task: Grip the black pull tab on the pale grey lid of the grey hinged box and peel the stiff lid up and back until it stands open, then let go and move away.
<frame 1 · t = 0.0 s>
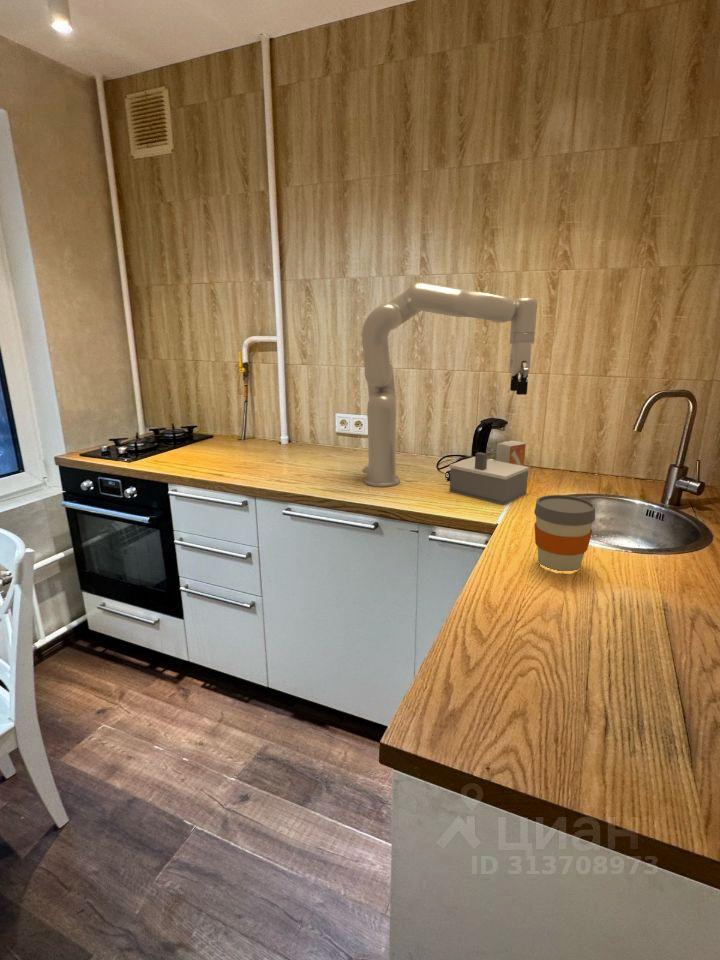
hand: (518, 392, 168), 31 cm above the worktop, tool pointing down, fingers open, 9 cm apart
reusable coffee cup: (558, 566, 117), on the worktop
lid: (489, 459, 164), point 11 cm above the worktop, hinge at 0.0°
grey hinged box: (487, 492, 168), on the worktop
small box: (508, 479, 183), on the worktop
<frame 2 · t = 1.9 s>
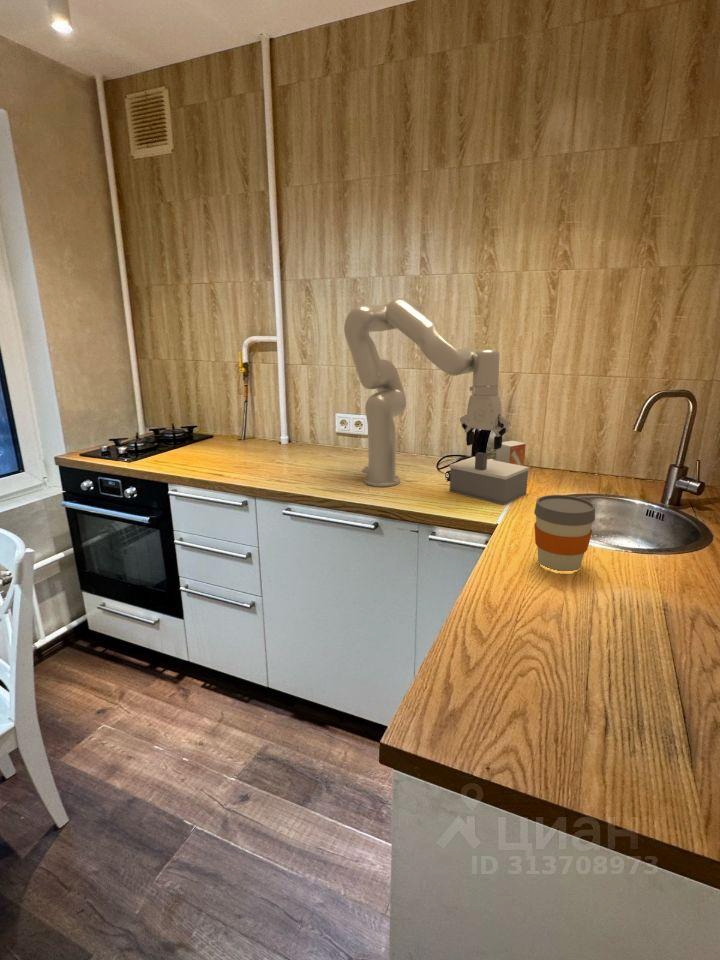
hand: (483, 446, 159), 16 cm above the worktop, tool pointing down, fingers open, 9 cm apart
nothing on the worktop moved.
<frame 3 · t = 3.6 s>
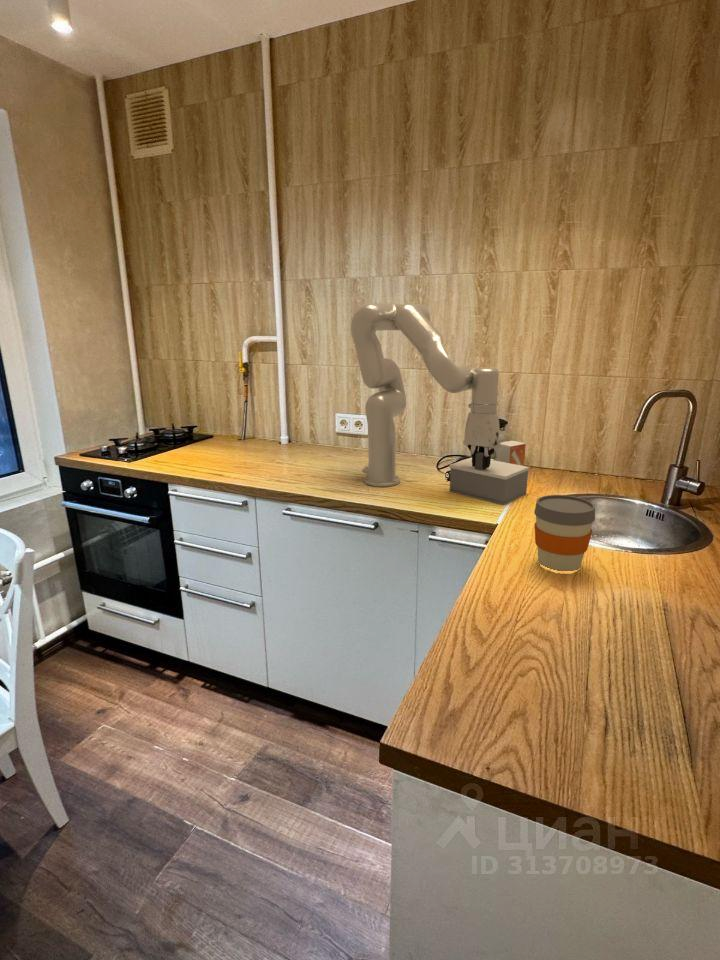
hand: (480, 466, 161), 10 cm above the worktop, tool pointing down, fingers closed on lid, 3 cm apart
lid: (489, 459, 164), point 11 cm above the worktop, hinge at 0.0°, touching gripper
everything else where it was.
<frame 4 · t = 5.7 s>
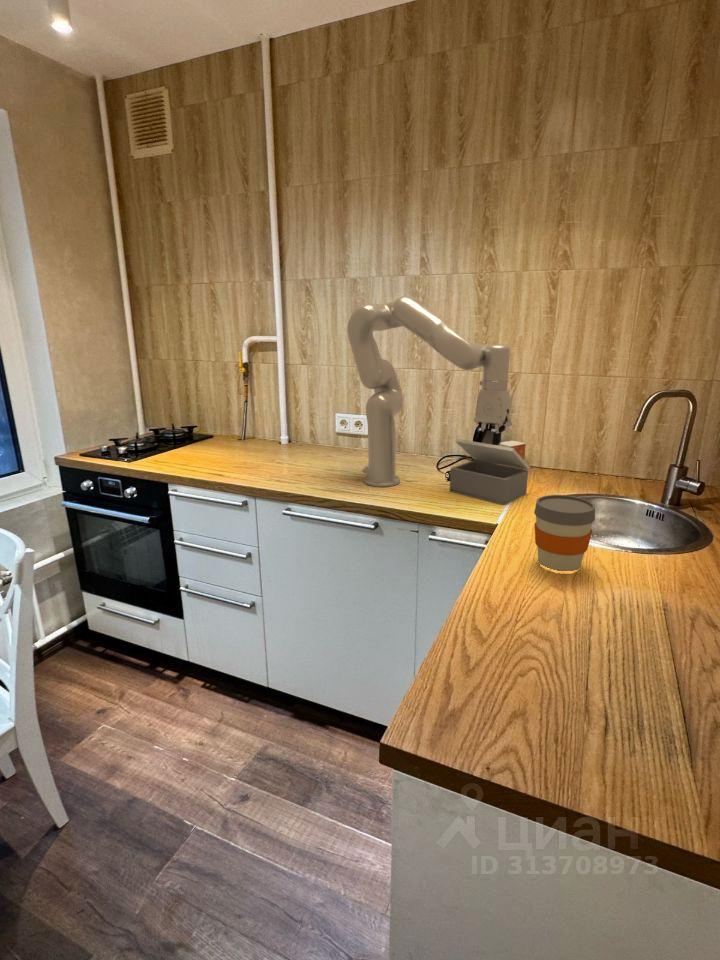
hand: (491, 443, 163), 16 cm above the worktop, tool pointing down, fingers closed on lid, 3 cm apart
lid: (495, 447, 165), point 15 cm above the worktop, hinge at 35.5°, touching gripper
everything else where it was.
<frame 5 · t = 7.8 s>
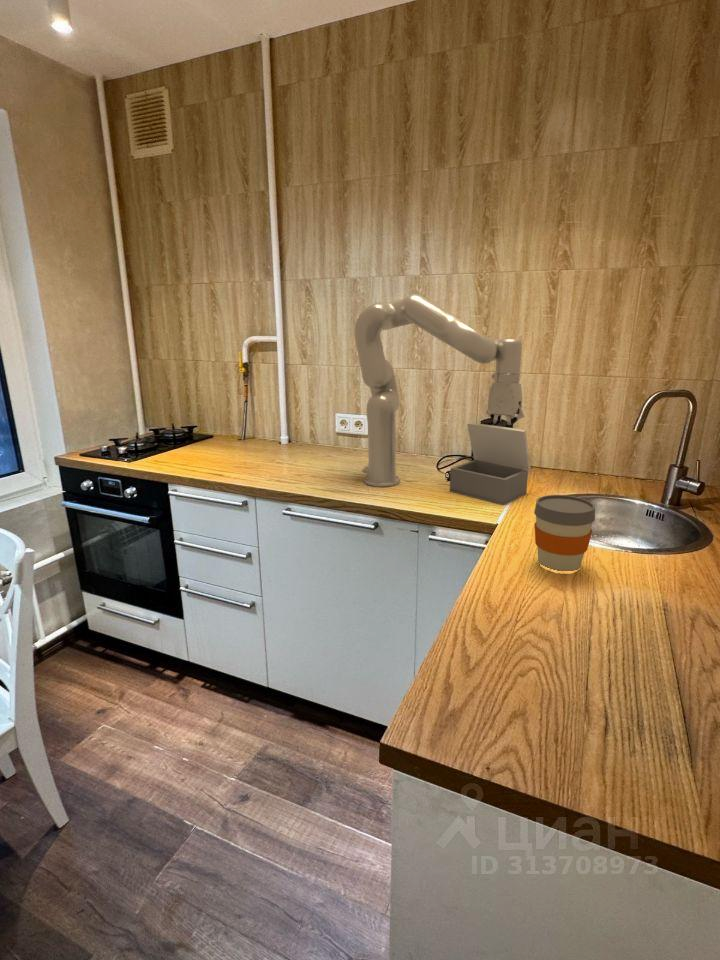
hand: (503, 435, 168), 18 cm above the worktop, tool pointing down, fingers closed on lid, 3 cm apart
lid: (502, 441, 168), point 16 cm above the worktop, hinge at 68.0°, touching gripper
everything else where it was.
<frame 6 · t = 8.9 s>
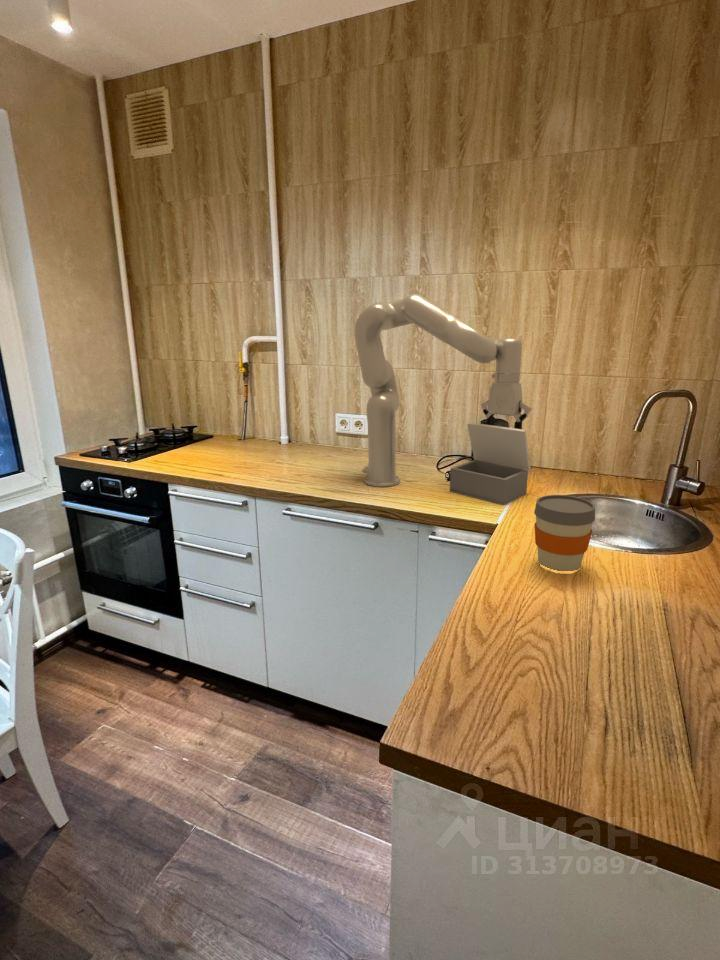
hand: (503, 431, 167), 19 cm above the worktop, tool pointing down, fingers open, 9 cm apart
lid: (502, 441, 168), point 16 cm above the worktop, hinge at 68.2°
everything else where it was.
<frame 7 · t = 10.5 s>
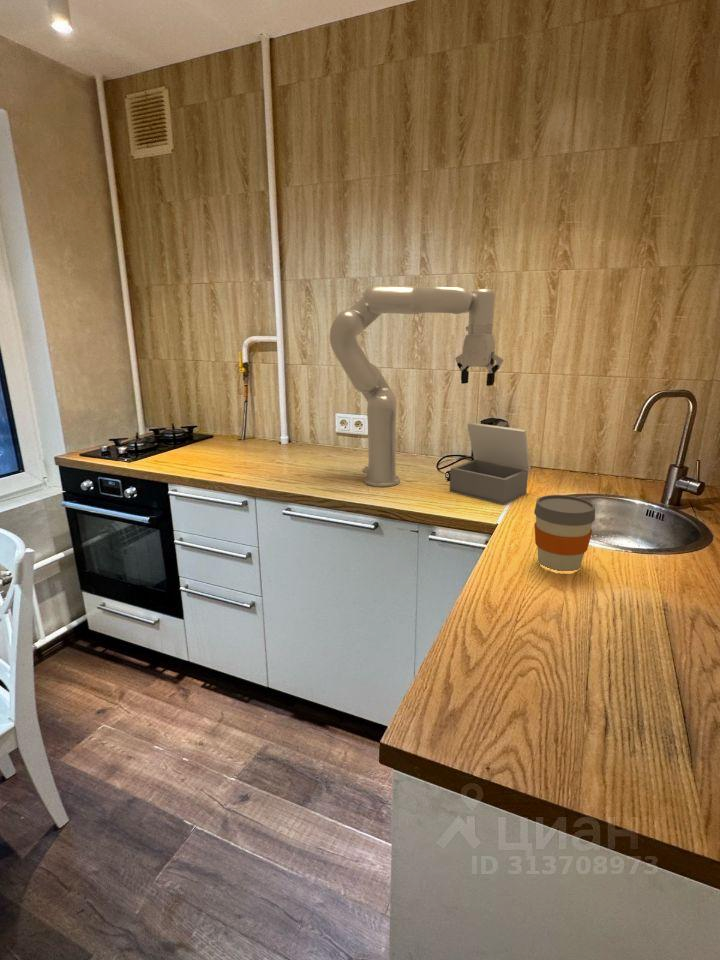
hand: (477, 384, 168), 34 cm above the worktop, tool pointing down, fingers open, 9 cm apart
nothing on the worktop moved.
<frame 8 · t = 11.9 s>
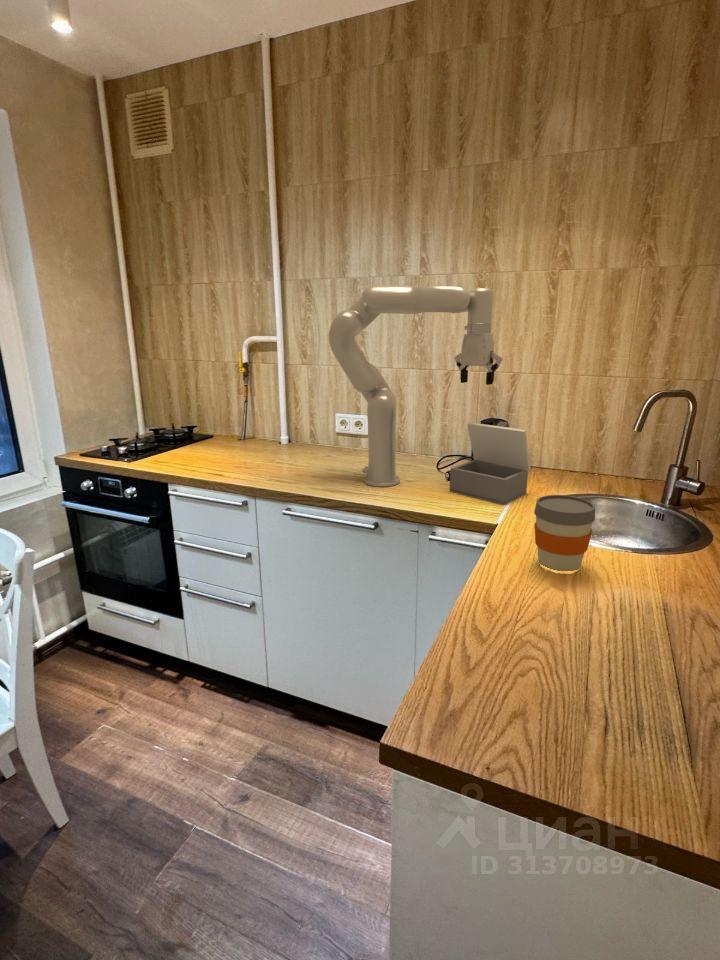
hand: (476, 383, 169), 34 cm above the worktop, tool pointing down, fingers open, 9 cm apart
nothing on the worktop moved.
at the end: lid at +68° (first picture: +0°); the gripper is holding nothing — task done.
